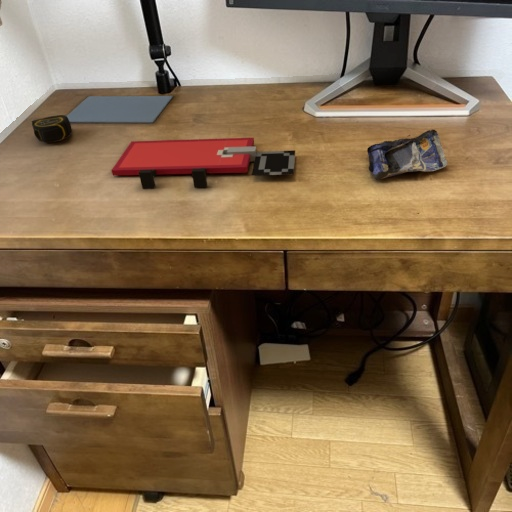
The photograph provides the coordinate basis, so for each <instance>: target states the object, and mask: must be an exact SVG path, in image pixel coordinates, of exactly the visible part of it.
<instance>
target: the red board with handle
mask: <svg viewBox="0 0 512 512" xmlns="http://www.w3.org/2000/svg"><path fill="white" fill-rule="evenodd" d="M254 145H255V137H231V138H230V137H229V138H228V137H227V138H197V139H196V138H195V139H167V140H166V139H165V140H162V139H161V140H138V141H137V140H135V141H134V140H133V141H131V142H130V143H129V144H128V146H127V147H126V149H125V150H124V151H123V153H122V154H121V155H120V157H119V159H118V160H117V162H116V163H115V164H114V166H113V167H112V169H111V170H110V171H111V174H112V176H138V177H139V180H140V184H141V188H142V189H143V190H145V189H155V187H156V182H155V176H157V175H191V176H192V183H193V187H194V188H196V189H197V188H207V187H208V181H207V174H235V173H236V174H237V173H238V174H240V173H243V174H244V173H248V170H249V165H250V163H252V162H253V167H252V171H251V176H277V175H279V176H281V175H284V176H285V175H286V176H287V175H294V173H295V161H296V160H295V159H296V150H265V151H264V150H261V151H257V150H258V149H257V146H254Z"/></svg>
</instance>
